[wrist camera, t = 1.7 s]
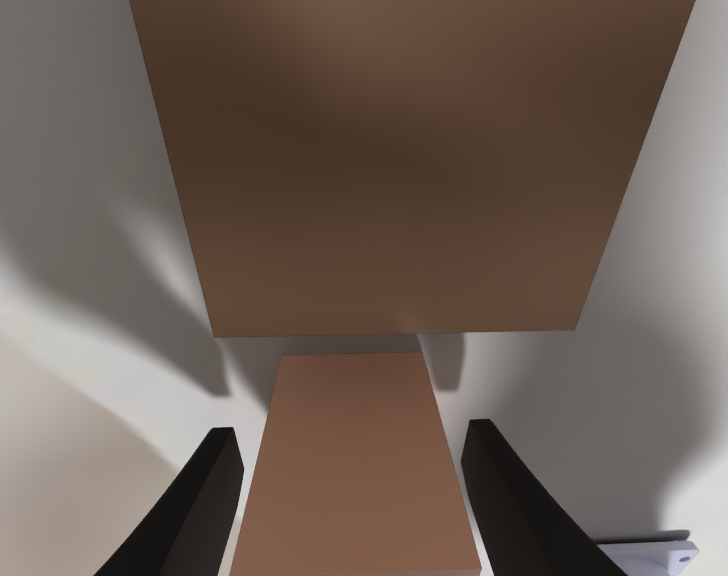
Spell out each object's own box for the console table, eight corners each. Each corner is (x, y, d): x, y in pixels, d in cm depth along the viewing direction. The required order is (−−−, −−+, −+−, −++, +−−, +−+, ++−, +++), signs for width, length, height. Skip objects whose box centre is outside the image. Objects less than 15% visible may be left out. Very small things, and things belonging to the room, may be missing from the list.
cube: (412, 442, 14) (451, 658, 9) (295, 446, 14) (263, 668, 9) (422, 351, 12) (482, 568, 6) (282, 354, 12) (228, 579, 6)
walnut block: (519, 269, 11) (574, 330, 8) (247, 273, 10) (213, 337, 8) (614, -113, 7) (781, -232, 4) (176, -126, 6) (63, -264, 4)
